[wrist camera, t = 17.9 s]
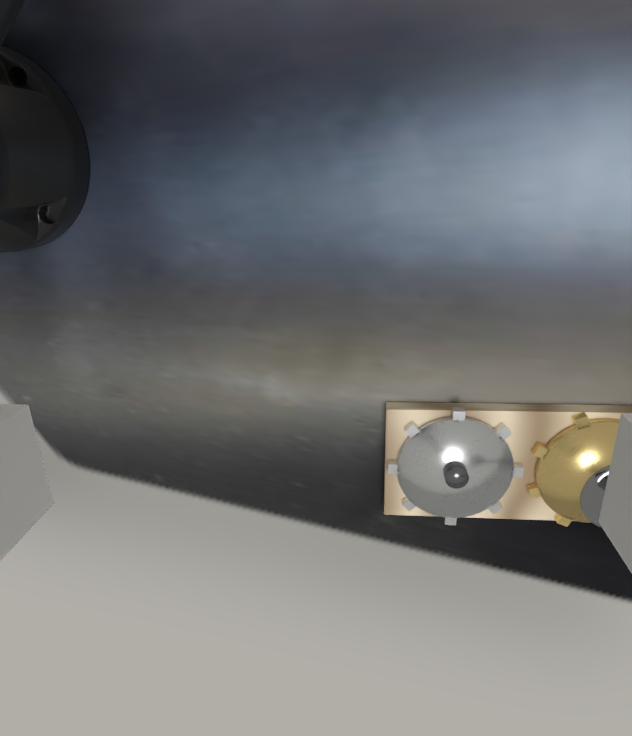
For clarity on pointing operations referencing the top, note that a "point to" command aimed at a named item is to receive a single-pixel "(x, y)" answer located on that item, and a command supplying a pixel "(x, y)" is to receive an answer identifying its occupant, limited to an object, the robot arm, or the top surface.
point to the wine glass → (594, 495)
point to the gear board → (495, 458)
